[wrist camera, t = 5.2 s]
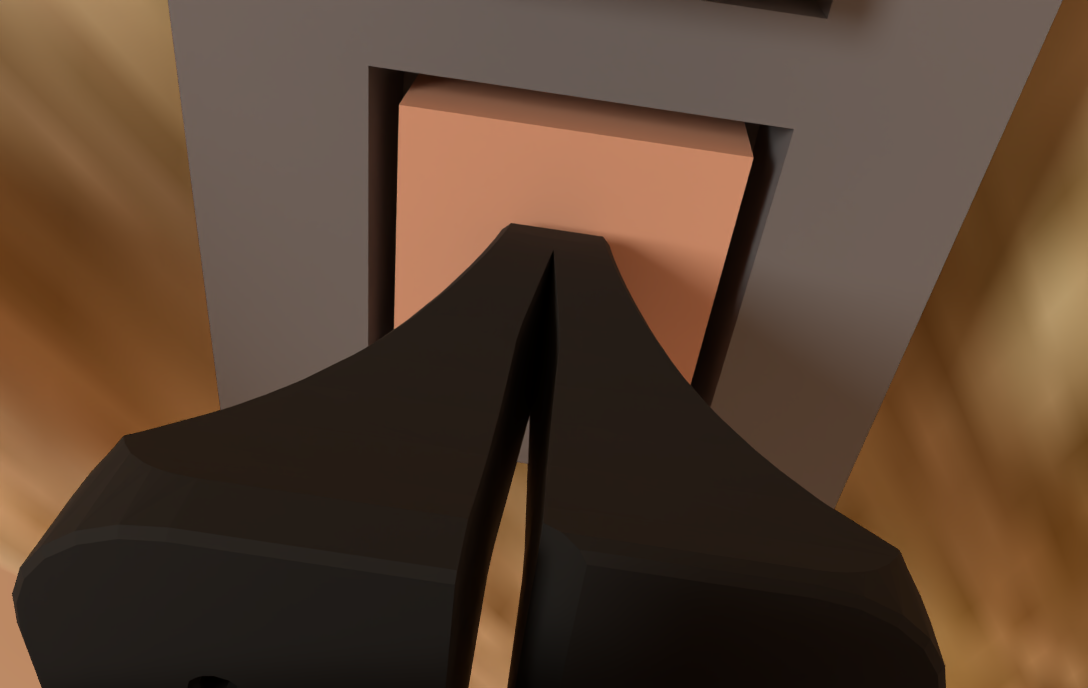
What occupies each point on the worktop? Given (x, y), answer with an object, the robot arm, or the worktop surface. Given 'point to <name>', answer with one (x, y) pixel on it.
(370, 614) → the robot arm
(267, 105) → the keypad
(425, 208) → the terracotta key
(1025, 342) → the worktop surface
